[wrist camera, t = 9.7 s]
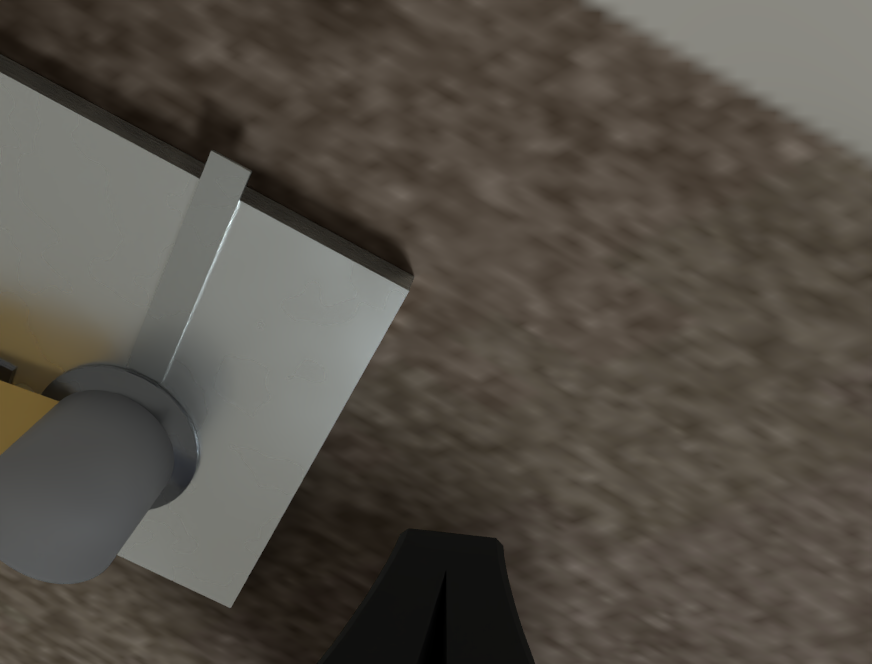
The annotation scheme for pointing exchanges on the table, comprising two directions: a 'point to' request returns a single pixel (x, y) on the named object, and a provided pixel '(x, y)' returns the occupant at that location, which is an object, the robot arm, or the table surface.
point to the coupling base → (180, 317)
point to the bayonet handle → (75, 479)
